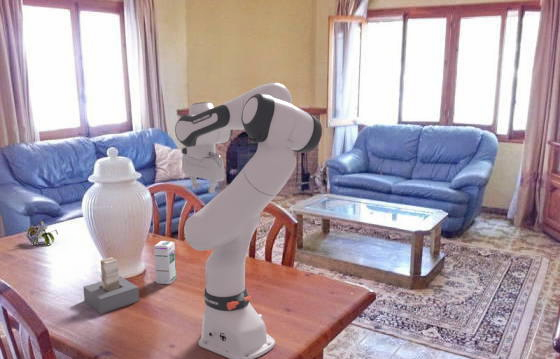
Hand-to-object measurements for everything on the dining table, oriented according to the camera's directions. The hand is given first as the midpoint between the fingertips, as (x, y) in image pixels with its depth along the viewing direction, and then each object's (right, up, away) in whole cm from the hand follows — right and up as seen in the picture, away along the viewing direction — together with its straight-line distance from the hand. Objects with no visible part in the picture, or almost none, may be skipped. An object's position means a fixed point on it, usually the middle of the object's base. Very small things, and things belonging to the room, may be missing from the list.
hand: (203, 190), depth 169 cm
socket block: (-30, -37, -5) cm, 48 cm away
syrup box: (-15, -34, +12) cm, 39 cm away
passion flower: (-81, -25, +53) cm, 100 cm away
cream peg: (-30, -36, -5) cm, 47 cm away
